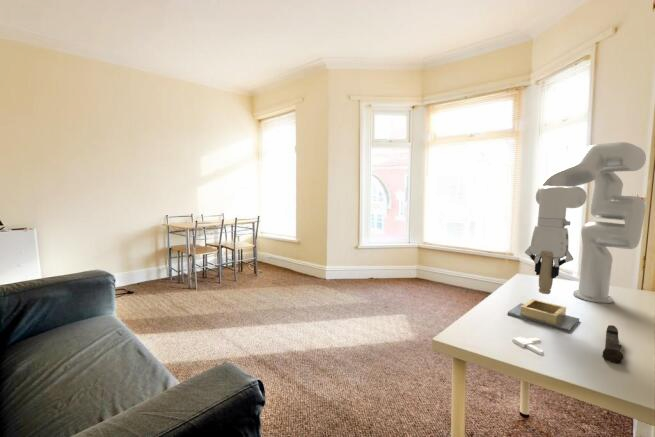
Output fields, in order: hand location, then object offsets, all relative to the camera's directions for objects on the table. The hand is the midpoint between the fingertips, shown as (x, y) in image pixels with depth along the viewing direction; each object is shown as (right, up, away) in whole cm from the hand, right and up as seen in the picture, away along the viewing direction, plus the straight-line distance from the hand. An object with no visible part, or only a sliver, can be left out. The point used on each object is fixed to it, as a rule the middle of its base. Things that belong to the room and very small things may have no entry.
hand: (546, 275), depth 109 cm
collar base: (0, -15, +2) cm, 15 cm away
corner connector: (-15, -18, -17) cm, 29 cm away
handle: (0, -6, +1) cm, 6 cm away
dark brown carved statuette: (+5, -18, -18) cm, 26 cm away
